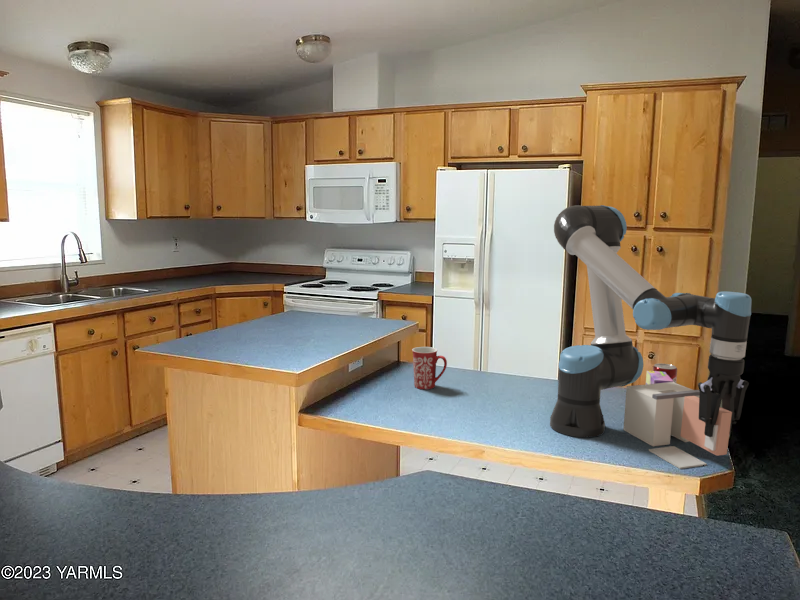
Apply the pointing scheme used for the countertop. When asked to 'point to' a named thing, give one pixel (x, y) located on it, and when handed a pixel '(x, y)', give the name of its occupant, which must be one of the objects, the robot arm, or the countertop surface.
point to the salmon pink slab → (696, 428)
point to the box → (657, 377)
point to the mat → (677, 457)
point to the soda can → (667, 370)
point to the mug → (426, 367)
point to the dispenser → (656, 411)
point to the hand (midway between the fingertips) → (715, 447)
